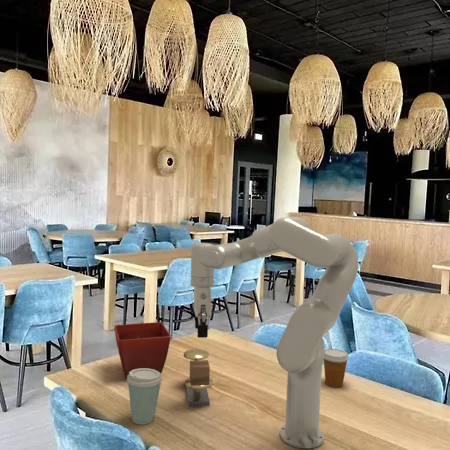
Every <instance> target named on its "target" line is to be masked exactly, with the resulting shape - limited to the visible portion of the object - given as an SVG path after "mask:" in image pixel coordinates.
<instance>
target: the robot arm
mask: <svg viewBox="0 0 450 450" xmlns="http://www.w3.org/2000/svg"><path fill="white" fill-rule="evenodd" d="M282 252H285V253H287V254H289V255H291V256H292V257H295V258H296V259H298V260H299V261H301V262H304V263H305V264H308V265H310V266H312V267H314V268H319V269H325V271H323V272H324V273H323V274H322V276H321V278H320V279H319V280H318V283H317V286H316V288H315V290H314V291H313V294H312V295H311V297H310V298H309V300H307V301H305V302H303V303H301V304H300V305H299V306H298V307H296V309H295V310H294V311H293V313H292V315H291V317H290V318H289V320H288V323H287V326H285V328H284V332H283V333H282V335H281V338H280V340H279V341H278V344H277V348H276V358H277V362H278V365H279V366H280V367H281V368H282V369H283V370H284V371H286V372H287V377H286V378H287V381H286V400H285V404H286V405H285V424H284V425H282V426H281V427H280V429H279V437H280V438H281V440H282V441H283V442H284V443H285V444H288V445H289V446H291V447H294V448H298V449H308V450H309V449H314V448H317V447H319V446H321V445H323V443H324V439H325V436H324V432H323V431H322V430H321V429H320V428H319V427H320V410H321V408H320V406H321V390H322V389H321V388H322V374H323V373H322V372H323V366H324V353H325V350H326V347H325V345H326V344H325V340H324V339H323V336H324V335H325V334H326V333H327V332H329V331H330V330H331V329H333V327H334V326H335V325H336V323H337V320H338V318H339V316H340V314H341V311H342V310H343V307H344V305H345V303H346V301H347V300H348V299H347V298H348V296H349V294H350V292H351V290H352V287H353V285H354V283H355V281H356V278H357V275H358V271H359V258H358V254H357V251H356V249H355V247H354V245H353V243H351V242H350V240H349V239H348V238H346V237H345V236H343V235H341V234H339V233H327V234H323V235H322V234H321V233H318V232H315V230H311V227H310V225H309V223H308V222H307V221H306V220H305V219H304V218H302V217H300V216H287V217H286V216H285V217H284V216H283V217H280V218H278V219H277V220H275V221H274V222H273V223H272V224H269V225H266V226H264V227H261V228H258V229H255V230H254V231H253V232H252V235H250V236H248V237H246V238H243V239H240V240H236V241H233V242H229V243H221V244H216V245H215V244H213V243H208V242H197V243H194V244H192V245H191V251H190V257H191V258H190V286H191V287H192V288H193V290H194V291H193V309H194V314H195V318H194V320H195V321H194V328H195V329H197V330H196V331H197V335H196V336H197V338H200V339H201V338H206V339H207V338H208V335H209V331H208V330H209V327H208V326H209V325H208V318H211V317H212V289H211V288H213V287H214V286H215V285H214V281H215V270H222V269H227V268H230V267H236V266H239V265H242V264H244V263H248V262H251V261H253V260H257V259H260V258H261V259H262V258H266V257H269V256H272V255H275V254H278V253H282Z"/></svg>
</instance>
